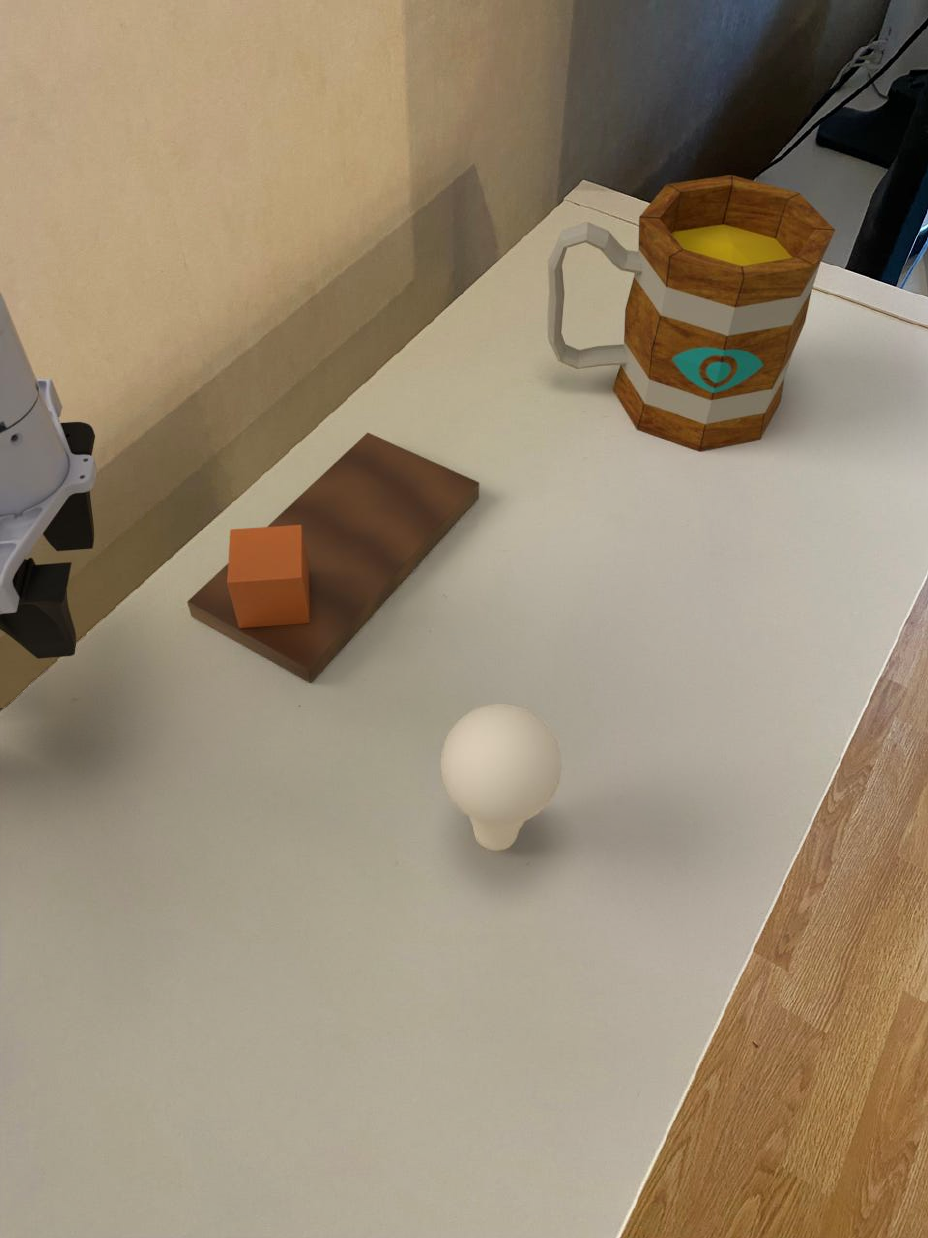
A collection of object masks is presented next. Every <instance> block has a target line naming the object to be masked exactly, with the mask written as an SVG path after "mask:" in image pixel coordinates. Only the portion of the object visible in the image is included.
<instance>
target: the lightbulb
mask: <svg viewBox="0 0 928 1238" xmlns="http://www.w3.org/2000/svg"><path fill="white" fill-rule="evenodd" d="M440 753H441V754H440V775H441V782H442V783H443V786H444V788H445V790H446V792H447V794H448V797H449V798H450V800H451V801H452V803H453V804H454V805H455V807H456V808H458V809H459V810H460V811H461V812H462V813H463V814H465V815H467V816H468V818H469V821H470V823H471V825H472V829H473V835H474V838H475V840H476V841H477V843H478V844H479V845H480V846H481V847H483V848H485V849H486V850H489V851H492V852H498V851H504V850H507V849H509V848H510V847H511V846H512V845H513V844H515V842H516V841H517V839H518V836H519V833H520V829H521V828H522V827H523V825H524V824H525V821H528V820H530V819H532V818H533V817H535V816H537V815H538V814H539V813H540V812H542V811H543V809H545V808H546V807H547V805H548V804H549V803H550V801H551V800H552V798H553V796H554V795H555V794H556V792H557V789H558V787H559V784H560V781H561V775H562V768H563V765H562V763H563V762H562V755H561V750H560V747H559V743H558V740H557V739H556V737H555V735H554V734H553V732H552V730H551V728H550V727H549V726H548V725H547V723H546V722H545V720H543V719H542V718H540V717H539V716H538V715H537V714H535V713H534V712H532V711H530V710H528V709H526V708H523V707H521V706H517V705H514V704H509V703H493V704H487V705H483V706H481V707H478V708H475V709H473V710H471V711H469V712H468V713H466V714H465V715H463V716H462V717H461V718H460V719H459V720H458V721H457V722H456V723H455V725H453V727H452V728H451V729H450V731H449V732H448V734H447V737H446V738H445V741H444V742H443V745H442V749H441V752H440Z"/></svg>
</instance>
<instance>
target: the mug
mask: <svg viewBox="0 0 928 1238" xmlns="http://www.w3.org/2000/svg"><path fill="white" fill-rule="evenodd" d="M638 217H639V218H638V250H630V249H627V248H625V247H624V246H623V245H621V243H620V242H619V241H618V240H617V239H616V238H615V236H613V234H612V233H611V232H610V231H609V230H608V229H606V228H604V227H600V226H599V225H596V224H594V223H591V222H589V221H586V222H583V223H582V222H581V223H580V224H576V225H573V226H570V227H567V228H564V229H562V230H561V232H560V234H559V235H558V238H557V241H556V243H555V245H554V247H553V249H552V251H551V253H550V255H549V258H548V260H547V269H548V271H547V272H548V273H547V274H548V291H549V292H548V301H547V302H548V303H547V339H548V343H549V345H550V347H551V349H552V351H553V353H554V356H555V358H556V360H557V362H560V363H562V364H564V365H566V366H568V367H571V368H574V369H575V370H580V369H589V368H595V367H605V366H607V367H609V366H619V367H618V370H617V374H616V378H615V381H614V384H613V387H612V390H613V392H614V394H615V396H616V397H617V399H618V400H619V402H620V404H621V405H622V408H623V409H624V411H625V412H626V414H627V416H628V417H629V419H630V420H631V422H632V424H633V425H634V427H635V428H636V430H637V431H640V432H642V433H645V434H649V435H651V436H655V437H657V438H660V439H663V440H666V441H669V442H671V443H674V444H677V445H680V446H683V447H685V448H689V449H691V450H695V451H698V452H705V451H708V450H709V451H710V450H713V449H718V448H723V447H724V448H725V447H729V446H734V445H737V444H738V445H739V444H743V443H748V442H754V441H760V440H761V439H762V437H763V435H764V434H765V431H766V430H767V428H768V426H769V425H770V423H771V420H772V418H773V417H774V415H775V413H776V412H777V409H778V408H779V406H780V404H781V402H782V396H783V389H784V383H785V377H786V373H787V371H788V368H789V365H790V362H791V359H792V356H793V352H794V350H795V348H796V345H797V343H798V341H799V338H800V336H801V333H802V331H803V328H804V327H805V324H806V320H807V315H808V310H809V305H810V301H811V295H812V290H813V287H814V284H815V281H816V278H817V274H818V272H819V268H820V265H821V263H822V261H823V258H824V255H825V253H826V251H827V250H828V247H829V244H830V243H831V241H832V238H833V236H834V233H835V231H836V228H834V227H833V226H832V225H831V223H829V222H828V220H827V219H825V218H824V216H822V215H821V213H819V211H817V210H816V208H815V207H813V206H812V204H811V203H810V202H809V201H808V200H807V199H806V198H805V197H804V196H803V195H802V194H801V193H800V192H797V191H795V190H794V191H793V190H790V189H785V188H782V187H779V186H774V185H771V184H766V183H763V182H759V181H756V180H752V179H748V178H744V177H740V176H736V175H733V174H729V175H722V176H715V177H706V178H701V179H693V180H687V181H686V180H685V181H681V182H672V183H666V184H665V185H664V187H663V188H662V189H661V190H660V191H659V193H658V194H657V195H656V196H655V197H654V198H653V200H652V201H651V202H650V204H649V205H648V206H647V207H646V208H645V209H644V210H643V211H642V213H641V214H640V215H639V216H638ZM584 243H585V244H588V245H590V246H592V247H594V248H596V249H597V250H600V251H601V252H602V253H603V255H604V256H605V257H606V258H607V260H608V261H609V262H610V263H611V264H612V265H613V266H615V267H616V268H617V269H618V270H620V271H622V272H628V273H634V274H633V279H632V282H631V287H630V290H629V294H628V298H627V302H626V305H625V309H624V337H623V343H621V344H609V345H608V344H607V345H596V346H592V347H587V348H583V349H578V348H575V347H574V346H571V345H569V344H566V341H565V339H564V336H563V334H562V329H563V317H564V316H563V315H564V303H565V285H564V272H563V264H564V259H565V256H566V254H567V250H568V248H571V247H575V246H578V245H581V244H584Z"/></svg>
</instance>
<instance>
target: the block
mask: <svg viewBox="0 0 928 1238" xmlns="http://www.w3.org/2000/svg"><path fill="white" fill-rule="evenodd" d="M227 564H228V579H227V583H228V587H229V591H230V595H231V599H232V602H233V606H234V610H235V614H236V618H237V622H238V626H239V628H250V627H264V626H278V625H292V624H305V623H310V591H309V567H308V560H307V554H306V548H305V542H304V536H303V529H302V525H291V526H276V527H267V526H261V527H246V528H232V529H230V531H229V546H228V562H227Z"/></svg>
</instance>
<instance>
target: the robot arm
mask: <svg viewBox="0 0 928 1238" xmlns="http://www.w3.org/2000/svg"><path fill="white" fill-rule="evenodd" d="M62 410H63V404H62V402H61V400H60V398H59V394H58V392H57V390H56V387H55V384H54V382H53V379H52V378H37V377H36V374H35V372H34V370H33V368H32V365H31V362H30V360H29V357H28V354H27V352H26V350H25V348H24V345H23V343H22V339H21V337H20V335H19V333H18V331H17V328H16V325H15V323H14V320H13V318H12V315H11V313H10V310H9V308H8V306H7V303H6V300H5V297H4V296H3V294H2V292H1V291H0V630H1V631H2V633H3V632H4V634H6V635H8V636H9V637H10V638H12V639H13V640H14V641H15V642H17V643H18V644H19V645H20V646H22V647H23V648H24V649H25V650H27V651H28V652H29V653H30V654H31V655H32V656H34V657H35V658H36V659H38V660H39V659H50V658H52V659H53V658H64V657H72V656H74V655H75V654H76V649H77V634H76V627H75V624H74V622H73V621H74V620H73V618H72V614H71V611H70V607H69V601H68V593H67V591H68V586H69V585H68V584H69V579H70V574H71V568H72V564H73V563H72V561H68V562H56V563H42V564H36V563H35V560H34V558H32V557H28V555H29V554H30V553H31V551H32V550H33V548H34V546H36V544H37V543H38V541H39V540H40V538H41V537H42V536H43V537H44V539H45V540H46V541H47V542H48V543H49V545H50V546H51V547H52V548H53V549H54V550H55V551H56V552H66V551H67V552H68V551H80V550H81V551H82V550H92V549H94V543H95V525H94V516H93V509H92V501H91V490H92V489H93V488H94V487H95V484H96V479H97V474H98V466H97V462H96V460H95V458H94V457H93V451H94V445H95V439H96V434H95V431H94V428H93V427H92V426H91V424H89V423H87V422H83V421H67V422H61V421H60V417H61V414H62ZM27 557H28V559H26V558H27Z"/></svg>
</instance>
